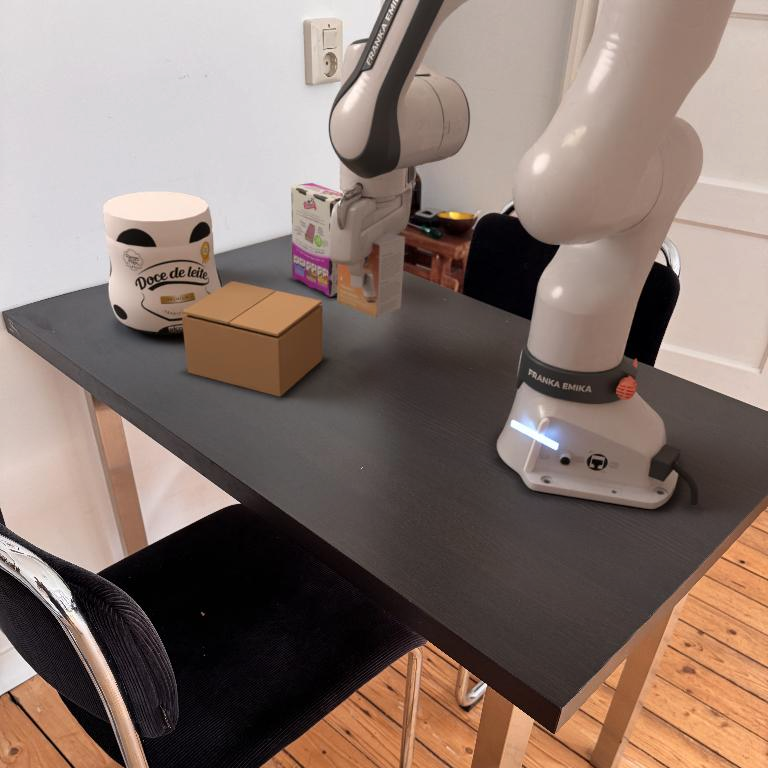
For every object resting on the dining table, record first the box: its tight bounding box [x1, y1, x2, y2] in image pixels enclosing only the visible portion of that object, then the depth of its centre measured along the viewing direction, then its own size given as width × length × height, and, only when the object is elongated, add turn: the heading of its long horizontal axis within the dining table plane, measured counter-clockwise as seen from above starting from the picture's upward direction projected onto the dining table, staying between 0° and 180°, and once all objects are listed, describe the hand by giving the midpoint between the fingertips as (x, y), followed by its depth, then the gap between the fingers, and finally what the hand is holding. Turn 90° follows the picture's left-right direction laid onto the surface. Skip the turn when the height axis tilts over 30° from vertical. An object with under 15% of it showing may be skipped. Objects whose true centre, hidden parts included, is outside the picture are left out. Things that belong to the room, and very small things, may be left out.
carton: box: [182, 280, 323, 398], centre depth 112 cm, size 15×13×9 cm
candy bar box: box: [290, 182, 342, 298], centre depth 137 cm, size 11×5×16 cm, turn 43°
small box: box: [336, 233, 406, 319], centre depth 113 cm, size 8×6×10 cm
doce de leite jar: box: [102, 190, 223, 336], centre depth 121 cm, size 17×17×18 cm
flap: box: [229, 290, 323, 336], centre depth 109 cm, size 7×13×1 cm, turn 157°
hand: (369, 277), depth 113 cm, fingers closed on small box, 6 cm apart
